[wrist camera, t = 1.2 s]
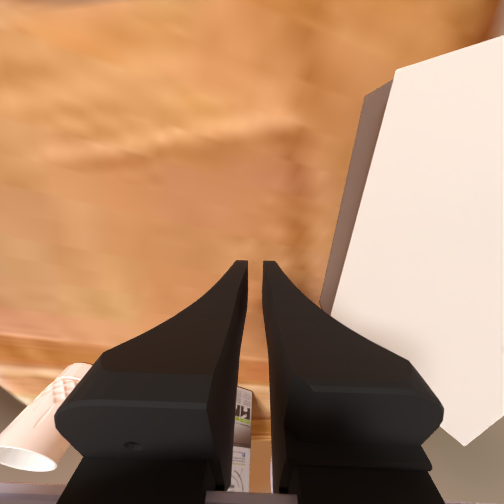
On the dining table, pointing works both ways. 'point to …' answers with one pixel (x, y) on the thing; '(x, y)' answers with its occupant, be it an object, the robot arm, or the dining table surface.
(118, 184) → the dining table surface
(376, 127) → the cable duct
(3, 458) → the white cup
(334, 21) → the dining table surface
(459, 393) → the duct lid
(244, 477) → the coffee box
